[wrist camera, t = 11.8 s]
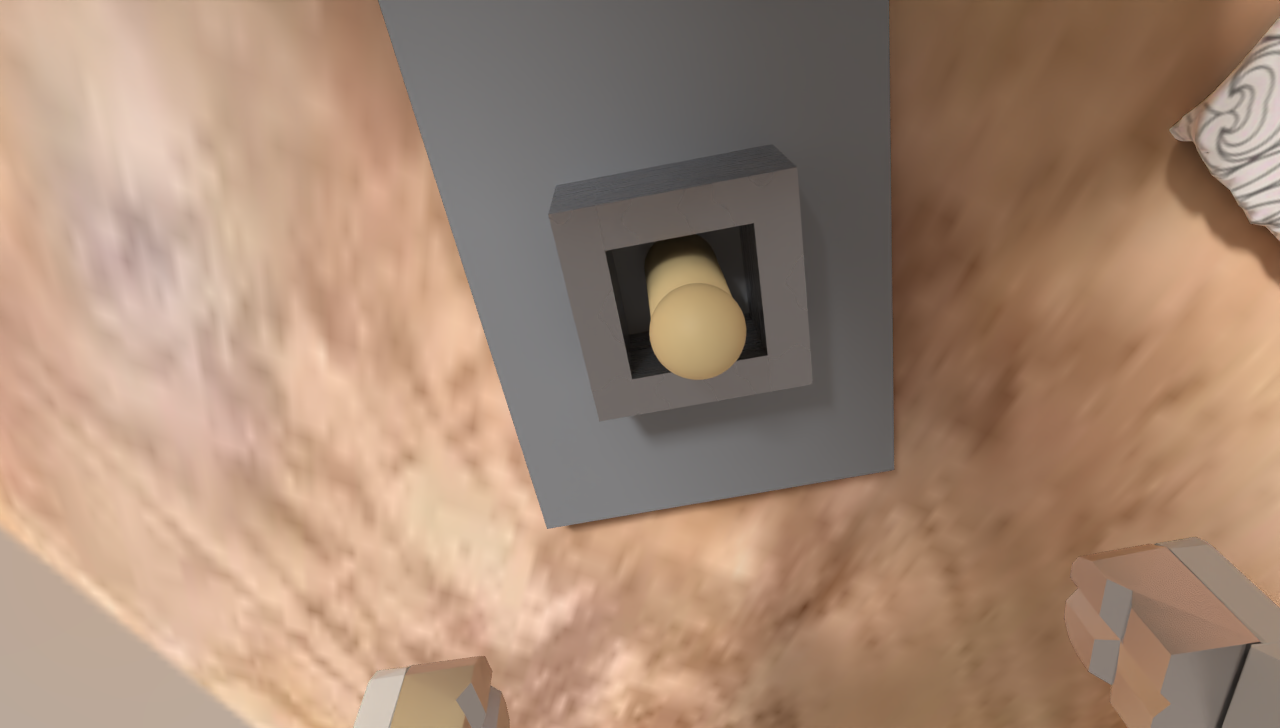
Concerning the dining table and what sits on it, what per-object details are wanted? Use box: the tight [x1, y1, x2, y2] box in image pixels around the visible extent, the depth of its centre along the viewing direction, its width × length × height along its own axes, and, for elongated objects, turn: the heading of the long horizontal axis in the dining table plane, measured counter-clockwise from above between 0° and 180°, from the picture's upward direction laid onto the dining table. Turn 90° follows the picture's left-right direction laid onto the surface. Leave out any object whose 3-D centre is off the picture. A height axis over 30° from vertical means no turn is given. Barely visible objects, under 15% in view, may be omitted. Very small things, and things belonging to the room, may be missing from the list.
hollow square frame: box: [548, 144, 813, 422], centre depth 22 cm, size 7×7×3 cm
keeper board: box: [378, 0, 894, 529], centre depth 21 cm, size 20×14×8 cm
